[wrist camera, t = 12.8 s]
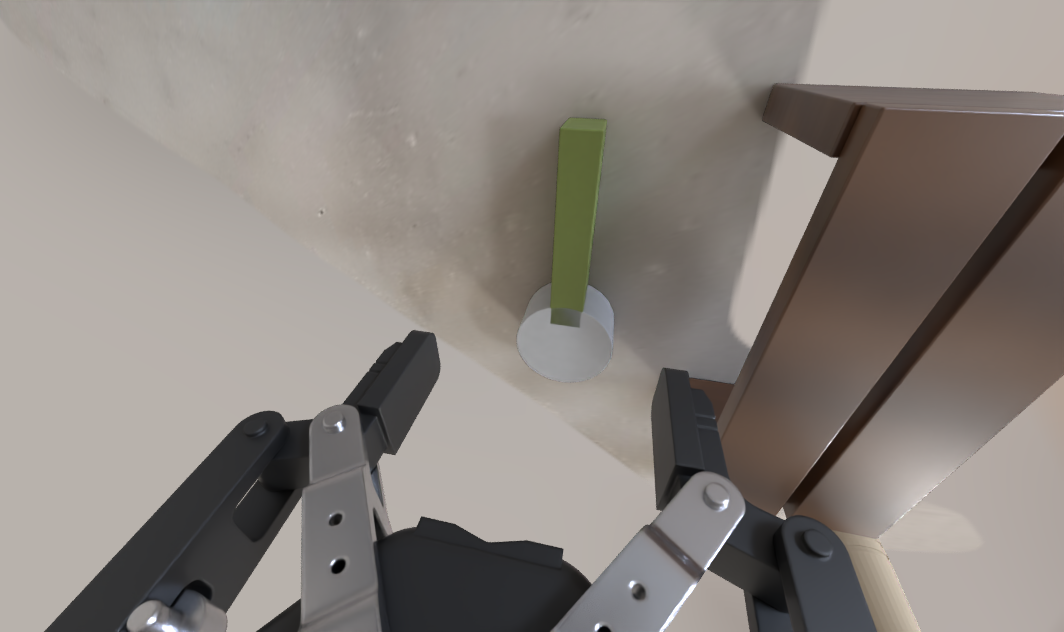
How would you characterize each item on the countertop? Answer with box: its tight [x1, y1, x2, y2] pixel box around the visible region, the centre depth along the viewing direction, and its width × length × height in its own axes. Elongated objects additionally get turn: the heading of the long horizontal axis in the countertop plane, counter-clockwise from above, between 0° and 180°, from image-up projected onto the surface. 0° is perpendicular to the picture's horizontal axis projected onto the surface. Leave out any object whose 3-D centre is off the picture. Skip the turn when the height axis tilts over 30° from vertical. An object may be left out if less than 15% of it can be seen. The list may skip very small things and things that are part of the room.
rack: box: [689, 83, 1064, 539], centre depth 17 cm, size 18×9×8 cm, turn 179°
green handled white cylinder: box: [517, 118, 614, 382], centre depth 21 cm, size 14×6×3 cm, turn 179°
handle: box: [832, 530, 921, 632], centre depth 22 cm, size 5×6×15 cm
